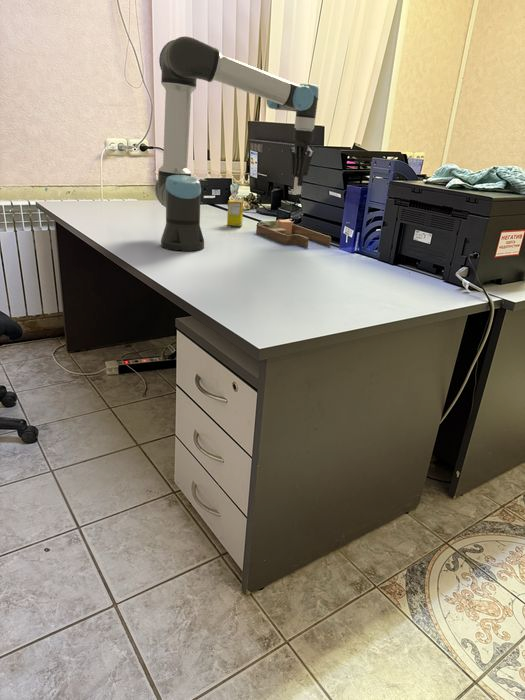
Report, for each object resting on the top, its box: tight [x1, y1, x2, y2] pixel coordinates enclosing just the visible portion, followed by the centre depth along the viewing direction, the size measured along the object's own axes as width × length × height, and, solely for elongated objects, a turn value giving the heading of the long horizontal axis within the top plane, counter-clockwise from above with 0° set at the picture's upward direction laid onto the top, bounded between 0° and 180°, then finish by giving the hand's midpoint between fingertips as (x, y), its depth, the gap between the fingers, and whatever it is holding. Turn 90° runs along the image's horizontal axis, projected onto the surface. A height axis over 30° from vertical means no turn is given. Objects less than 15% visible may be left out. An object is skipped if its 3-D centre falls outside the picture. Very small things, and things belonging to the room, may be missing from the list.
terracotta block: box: [277, 219, 294, 235], centre depth 215 cm, size 5×5×5 cm
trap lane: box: [255, 220, 332, 248], centre depth 206 cm, size 17×34×4 cm, turn 32°
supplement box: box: [226, 198, 244, 228], centre depth 218 cm, size 6×6×11 cm
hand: (296, 194), depth 201 cm, fingers closed
